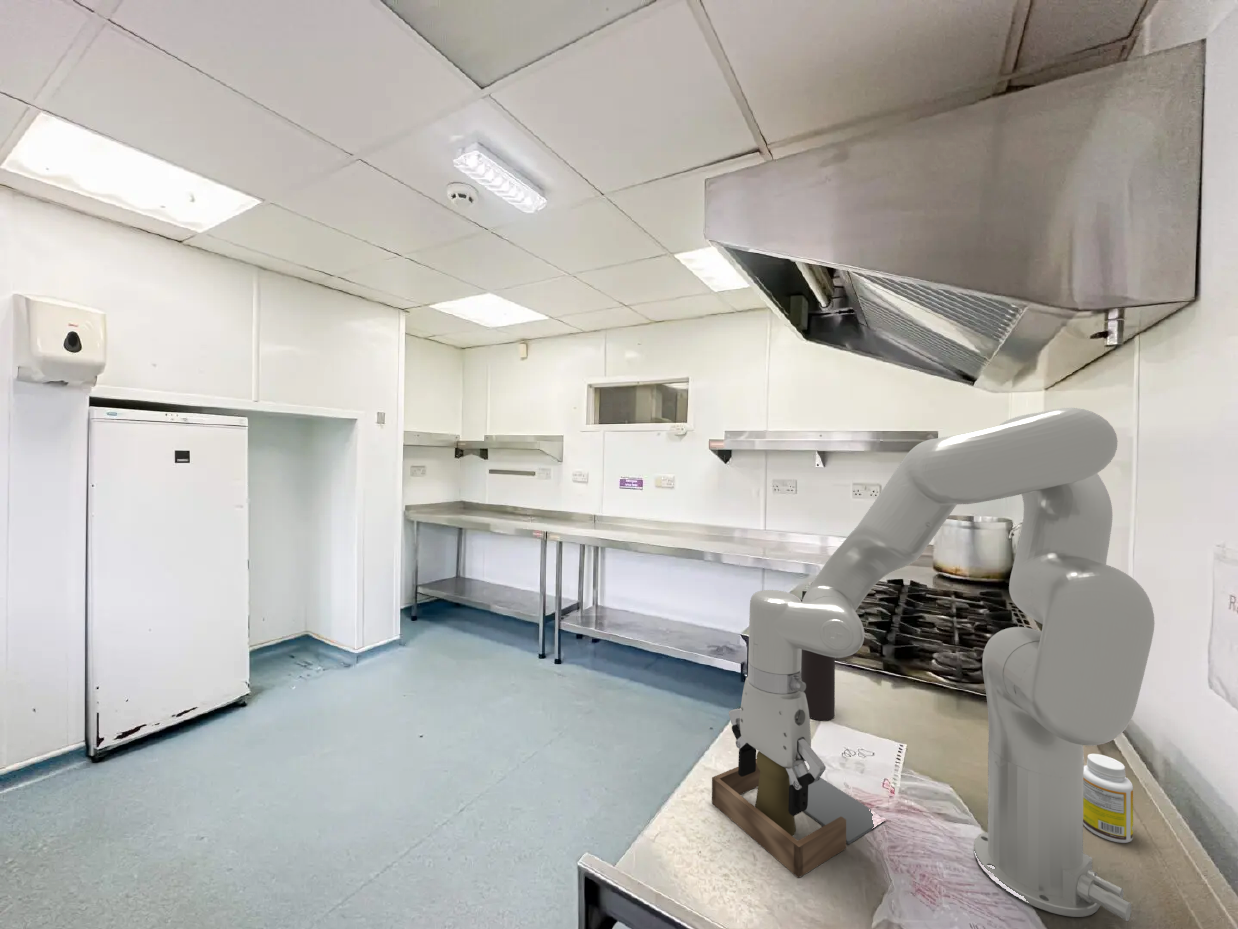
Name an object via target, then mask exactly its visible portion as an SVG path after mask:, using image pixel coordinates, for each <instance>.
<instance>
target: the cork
mask: <svg viewBox="0 0 1238 929" xmlns="http://www.w3.org/2000/svg"><path fill="white" fill-rule="evenodd" d="M756 759H757V766H758V769H759V770H760V776H759V783H758V787H757V792H756V798H755V805H754V806H755V807H756V808H757V809H758V810H760V811H761V812H762V813H763V814H765V815H766V816H767V817H769V818H770V819H771V820H772V821H774V822H775V823H776V824H777V825H779V826H780V827H781V828H782V829H784V830H785V831H786V832H787V833H789V834H790V835H791V836H793V837H794V836H795V835H796V832H797V828H796V823H795V822H796V821H795V816H792V815H791V814H789V811H788V805H789V786H790V780H789V775H788V772H787V770H786V768H784V767H782V766H781V765H779V764H777V763H776V762H774V761H773V760H771V759H770V758H768V757H767V756H765V755H764V754H762V753H761V752H760V751H758V750H757V752H756Z"/></svg>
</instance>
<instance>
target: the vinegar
mask: <svg viewBox="0 0 1238 929" xmlns="http://www.w3.org/2000/svg"><path fill="white" fill-rule="evenodd" d="M801 680H802V682H804V683H805V684H806V689H805V691H804V693H805V695H806V699H807V704H808V709H809V717H810V719H812V720H816V721H825V722H826V721H830V720H832V719H833V718H834V717H835V716H836V715H835V714H836V713H835V711H836V710H835V706H836V705H835V702H836V696H835V693H836V692H835V691H836V687H835V686H836V684H835V683H836V682H835V681H836V657H829V656H824V655H821V654H817V653H814V652H811V651H807V650H804V649H802V657H801Z"/></svg>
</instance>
